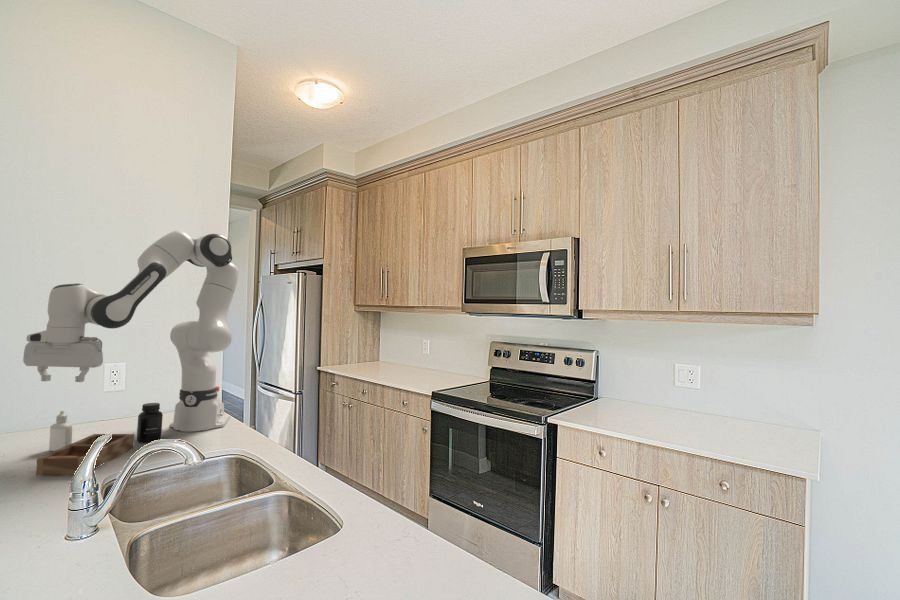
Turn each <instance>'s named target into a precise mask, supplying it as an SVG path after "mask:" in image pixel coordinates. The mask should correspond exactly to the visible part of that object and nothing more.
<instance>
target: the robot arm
mask: <svg viewBox="0 0 900 600" xmlns="http://www.w3.org/2000/svg"><path fill="white" fill-rule="evenodd" d="M232 260H233V256H232V245H231V242H230V240H229V239H228V238H227V237H226V236H224V235H222V234H219V233H209V234H207V235H203V236H200V237H199V238H195V239H194V238H192V237H191V236H190V235H189V234H187V233H186V232H184V231H181V230H173V231H171V232H169V233H167V234H165V235H163V236H162V237H160V238H159V239H157V240H156V241H155V242H154V243H152V244H151V245H150V246H148V247H147V248H146V249H145V250H144V251H143V252H142V253H141V254H140V256H139V257H138V259H137V267H138V269H139V270H138V273H137V274H136V275H135V276H134V278H132V279H131V280H130V281H129V282H128V283H127V284H126V285H125V286H124V287H123V288H122V289H120V290H119V291H118V292H116V293H114V294H110V295H105V294H102V293H100V292H97V291H94V290H93V289H90V288H89V287H87V286H86V285H85V284H84V283H65V284H57V285H56V286H54V287H52V289H51V290H50V292H49V297H48V300H47V301H48V303H47V315H48V322H47V323H46V330H41V331H39V332H34V333H30V334H28V335H26V341H27V342H28V343H26V344H25V346H24V351H23V358H22V361H23V364H24V365H25V366H26V367H37V371H38V373H39V375H40V377H41V378H40V381H41V382H51V380H52V374H49V373H48V371H47V370H48V369H49V368H50V367H52V368H54V367H55V368H59V367H60V368H79V372H80V373H79V374H78V375H77V376H75V380H74V382H76V383H83V382H85V377H86V375H87V373H89V371H90V369H91V368H92V369H93V368H98V367H99V368H100V367H101V366H102V365H103V363H104V357H103V355H104V353H103V341H102V340H101V339H100V338H98V337H96V336H92V337H91V336H85V333H86V331H85V329H86V327H85V326H86V324H93V325H96V326H100V327H103V328H106V329H119V328H121V327H123V326H125V325H127V324H128V323H130V321H131V320H132V318H133V317H134V314H135V312H136V309H137V307H138V306H139V305H140V303H141V302H142V301H143V300H144V299H145V298H146V297H147V296H148V295H149V294H150V293H151V292H152V291H153V290H154V289H155V288H156V287H157V286H158V285H159V284H160V283H161V282H162V281H164V280H165V279H166V278H167V277H168V276H170V275H171V274H172V273H174V272H175V271H176V270H177V269H178V268H179V267H181V265H182V264H183V263H185V262H186V261H187V262H189V263H190V264H191V265H194V266H196V267H200V268H204V267H205V269H206V277H205V279H204V281H203V283H202V286H201V288H200V291H199V294H198V297H197V300H196V306H197V308H198V311H199V315H198V316H199V317H198V321H196V320H187V321H182V322H179V323H177V324H175V325H174V326H173V328H172V329H171V330H170V333H169V335H170V341H171V342H172V344H173V345H174V347H175V349H176V350H177V353H178V357H179V360H180V361H179V362H180V366H181V384H180V385H181V388H180V389H179V394H178V396H179V397H178V399H179V401H178V402H177V403H176V404H175V406H174V414H173V422H171V423H169V427H170V428H172V427H173V429H174V430H175V431H177V430H180V431H179V432H200V431H201V430H202V431H208V430H211V429H218V428H224V426H225V425H226V424H227V422H228V421H229V420H230V418H231V415H230V414H228V413H225V404H224V402H222V401H221V400H220V398H218V392H220V388H221V387H220V386H218V385H217V386H216V382H217V381H216V380H217V366H216V364H215V363H214V362H213V360H212V359H211V357H210V354H211V353H217V352H222V351H225V350H227V349H228V348H229V346H230V344H231V342H232V341H233V339H232V338H233V336H232V335H233V334H232V332H231V330H230V328H229V325H228V313H229V309H230V306H231V302H232V299H233V297H234V293H235V292H236V291H235V290H236V287H237V283H238V279H239V269H238V266H237V265H235V264H234V263H233V262H232ZM226 414H228V415H229V416H228V415H226Z"/></svg>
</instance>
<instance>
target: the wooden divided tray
mask: <svg viewBox="0 0 900 600" xmlns="http://www.w3.org/2000/svg"><path fill="white" fill-rule="evenodd" d="M105 434H106V433H93V434H91V435H89V436H87V437H84V438H82V439H78V440H77V441H75V442H72V444H70V445H67V446H65V447H63V448H60V449H58V450H56V451H53V452H52V451H50V452H49V453H46V454H44V455H42V456H40V457H38V458H36V469H35V470H36V472H35V476H36V475H71V476H73V475H74V473H75V471H76V470H77V468H78V467H79V465H80V464H81V462H82V461H83V459H84V457H85V456H86V453H87V452H88V450H89V449H90V447H91V445H92V444H93V442H94V441H95V440H96V439H97V438H98V437H100V436H102V435H105ZM111 434H112V439H111V440H110V441H109V442H108V443H106V444H105V445H104V446H103V448H102V450H101V451H100V453H99V456H98V457H97V460H96V465H95V470H97V469H96V467H98V466H100V465H101V464H103V463H106V462H108V461H109V462H111V461H113V460H115V459H117V458H118V457H120V456H122V455H124V454H125V453H128V452H130V451H131V450H133V449H134V440H135V434H134V433H111ZM110 460H111V461H110ZM109 462H108V463H109ZM106 464H107V463H106ZM100 467H101V466H100ZM98 468H99V467H98Z"/></svg>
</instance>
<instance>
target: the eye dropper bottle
mask: <svg viewBox="0 0 900 600" xmlns="http://www.w3.org/2000/svg"><path fill="white" fill-rule="evenodd" d="M64 411H65V410H60V411H59V414H57V415H56V419H55V420H56V422H55V423H52V425H50V429H49V444H48V451H49V452H52V451H56V450H58V449H60V448H63V447H65V446H67V445H70V444H72V443H73V425H72V424H71V423H69V422H68V414H65V412H64Z"/></svg>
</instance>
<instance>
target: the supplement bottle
mask: <svg viewBox="0 0 900 600" xmlns="http://www.w3.org/2000/svg"><path fill="white" fill-rule="evenodd" d="M160 406H161V404H160V403H159V402H147V403H144V404H142V408H141V411H142V412H140V413H139V414H138V416H137V425H136V427H137V428H136V442H137V443H139V444H148V443H149V442H150V443H152V442H151V441H154V440H158V439H160V440H161V438H162V433H163V432H162V429H163V418H164V417H163V416H164V415H163V412H162V411H160V409H161V408H160ZM158 441H159V440H158ZM150 443H149V444H150Z"/></svg>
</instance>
